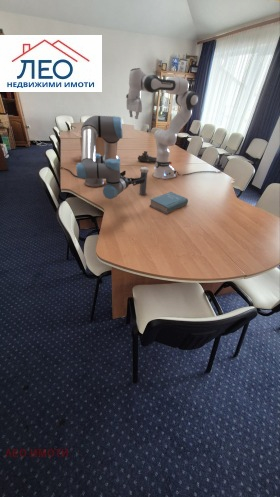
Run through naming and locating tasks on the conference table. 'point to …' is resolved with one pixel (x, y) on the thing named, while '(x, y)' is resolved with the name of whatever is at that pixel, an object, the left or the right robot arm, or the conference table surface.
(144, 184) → the dark grey cylinder
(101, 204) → the conference table surface
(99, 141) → the box
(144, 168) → the lid
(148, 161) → the laser sight
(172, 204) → the book
